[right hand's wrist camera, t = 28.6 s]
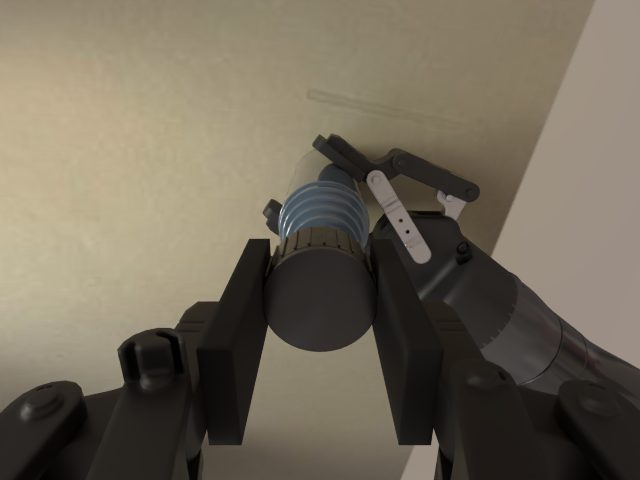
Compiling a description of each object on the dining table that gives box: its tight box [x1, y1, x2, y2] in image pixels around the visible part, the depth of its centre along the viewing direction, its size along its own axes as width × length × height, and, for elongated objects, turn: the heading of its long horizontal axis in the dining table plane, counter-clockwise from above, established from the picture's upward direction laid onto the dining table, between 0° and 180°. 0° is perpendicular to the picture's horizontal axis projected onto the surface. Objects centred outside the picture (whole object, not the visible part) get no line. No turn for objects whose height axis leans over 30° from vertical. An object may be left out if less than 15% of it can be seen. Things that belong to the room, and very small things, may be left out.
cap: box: [262, 225, 378, 352], centre depth 13 cm, size 4×4×2 cm
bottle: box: [278, 150, 369, 249], centre depth 23 cm, size 5×5×19 cm
